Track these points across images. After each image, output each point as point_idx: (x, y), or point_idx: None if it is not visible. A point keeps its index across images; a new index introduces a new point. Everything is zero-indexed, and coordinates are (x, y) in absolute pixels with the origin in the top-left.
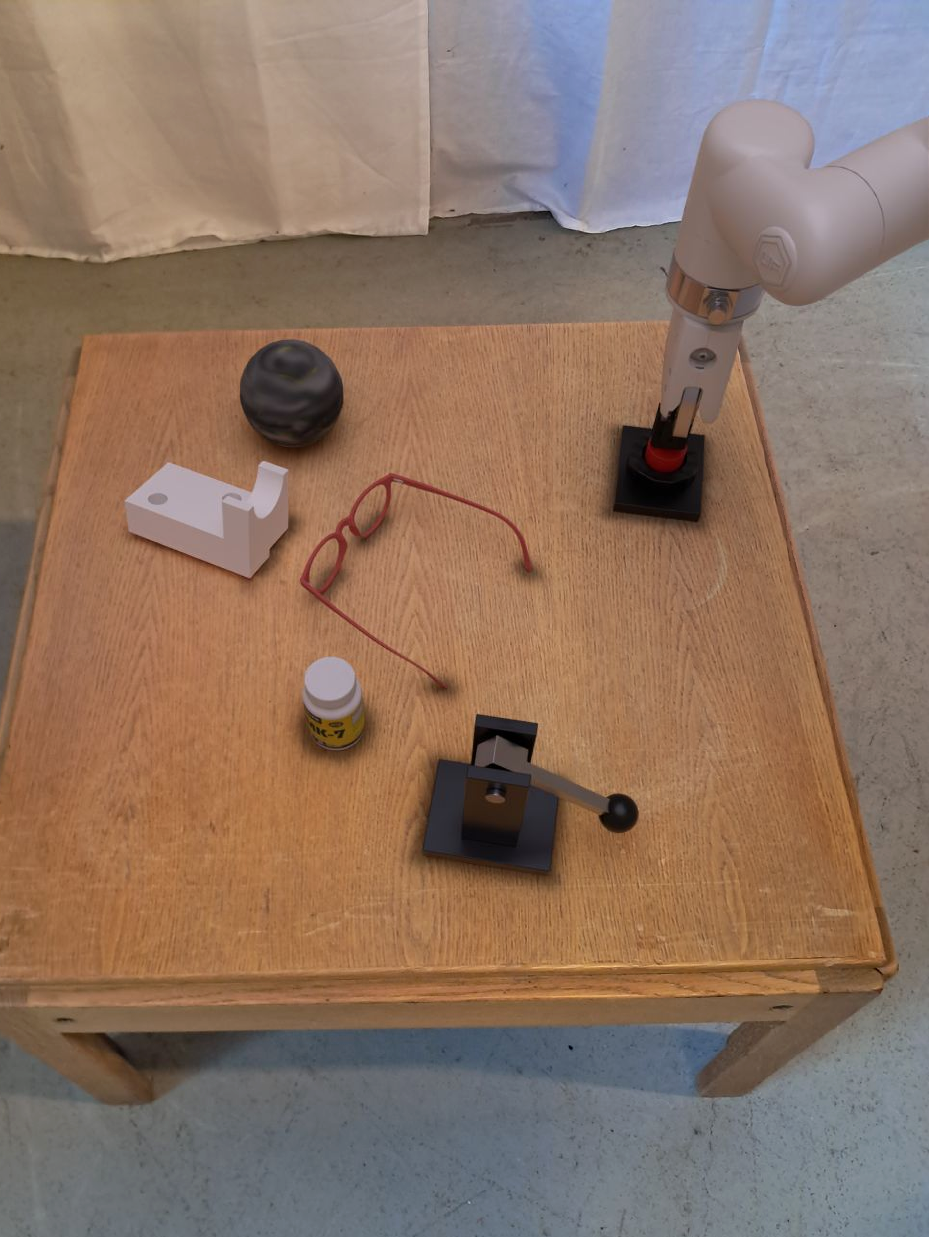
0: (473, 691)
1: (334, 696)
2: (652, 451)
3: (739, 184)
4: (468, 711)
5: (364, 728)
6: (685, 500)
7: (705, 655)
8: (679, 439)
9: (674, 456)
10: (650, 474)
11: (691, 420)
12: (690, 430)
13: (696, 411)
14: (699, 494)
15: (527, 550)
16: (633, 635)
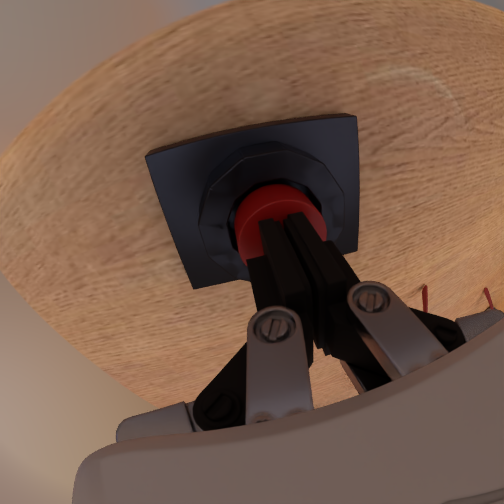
0: (490, 273)
1: None
2: None
3: None
4: (498, 270)
5: (490, 308)
6: (332, 147)
7: (494, 105)
8: (340, 254)
9: (313, 220)
10: (332, 235)
11: (455, 327)
12: (328, 249)
13: (434, 337)
14: (312, 124)
15: (426, 306)
16: (483, 177)
